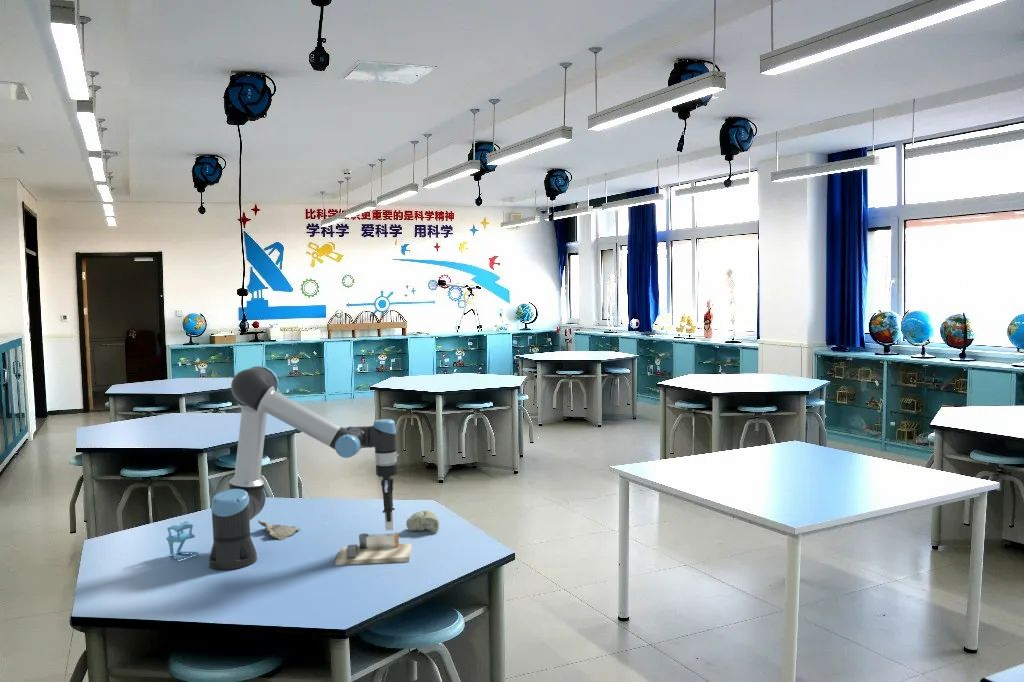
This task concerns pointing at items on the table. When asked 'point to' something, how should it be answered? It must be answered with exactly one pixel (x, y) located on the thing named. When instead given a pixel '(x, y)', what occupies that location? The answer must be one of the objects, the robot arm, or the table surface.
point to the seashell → (423, 521)
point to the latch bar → (378, 540)
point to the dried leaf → (279, 530)
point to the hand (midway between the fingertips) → (389, 529)
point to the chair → (180, 539)
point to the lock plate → (376, 555)
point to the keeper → (351, 551)
